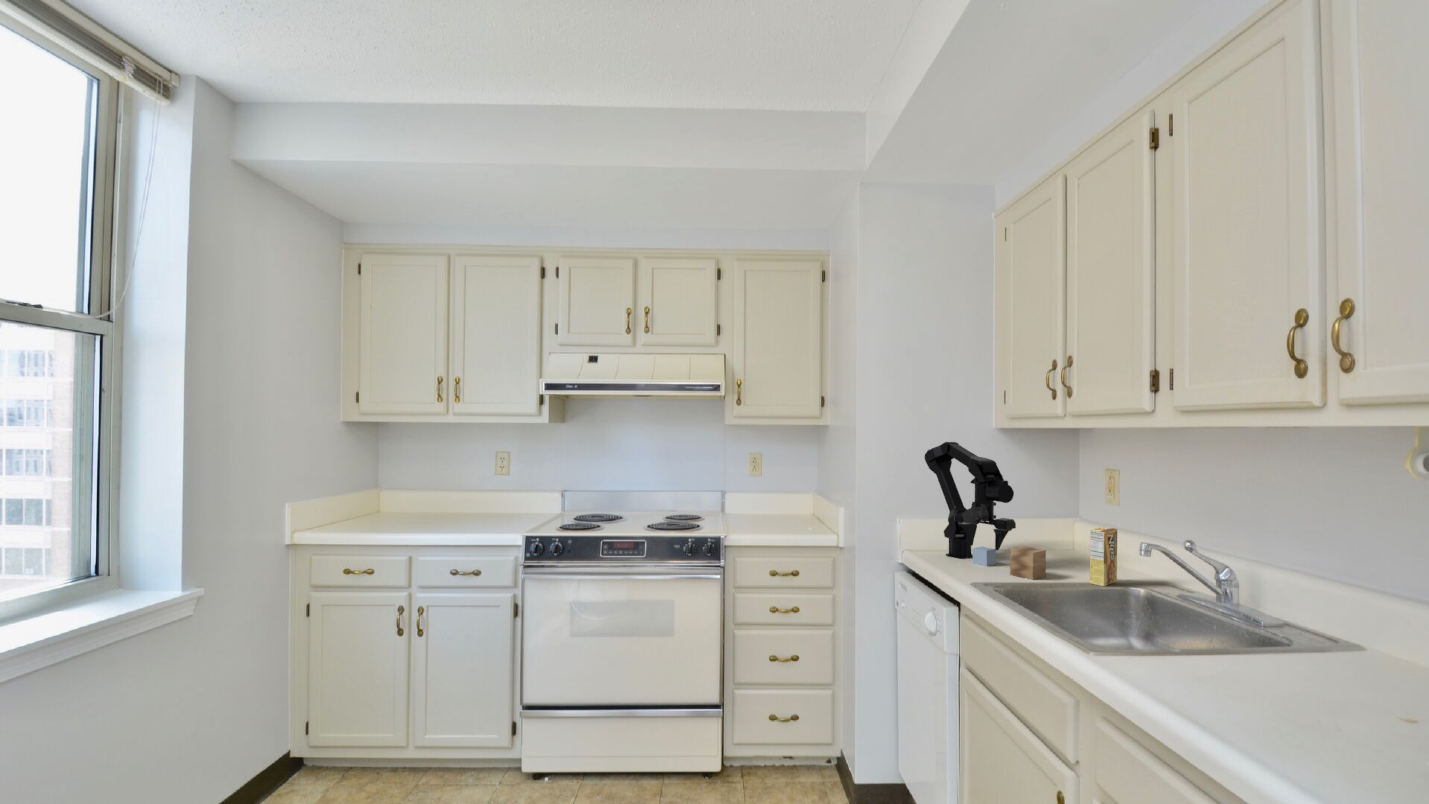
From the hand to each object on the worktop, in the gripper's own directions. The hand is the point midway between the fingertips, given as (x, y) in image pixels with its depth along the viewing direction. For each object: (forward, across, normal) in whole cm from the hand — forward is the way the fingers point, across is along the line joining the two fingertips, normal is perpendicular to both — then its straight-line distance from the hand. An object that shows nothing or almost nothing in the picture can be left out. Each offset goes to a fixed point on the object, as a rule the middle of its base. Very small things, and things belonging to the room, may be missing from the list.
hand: (983, 547), depth 221 cm
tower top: (+1, +17, -4) cm, 18 cm away
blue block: (+5, 0, 0) cm, 5 cm away
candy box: (+5, +34, +6) cm, 35 cm away
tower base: (+5, +17, -4) cm, 19 cm away
